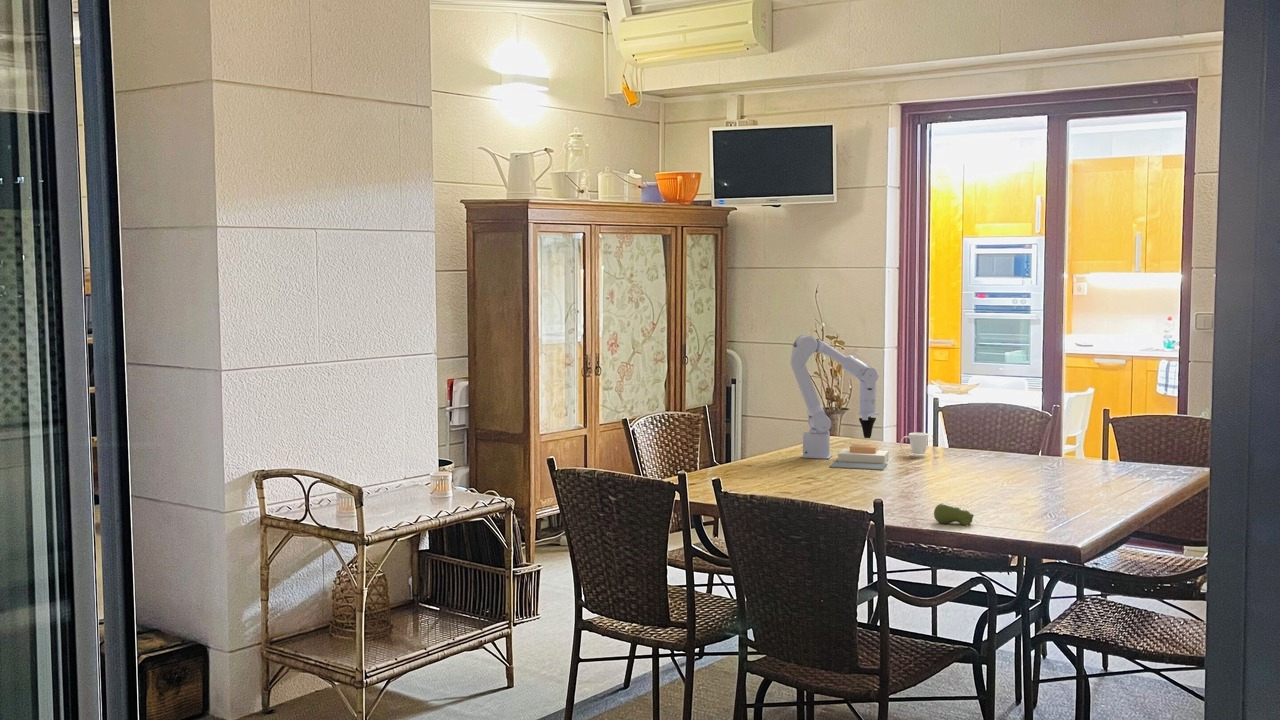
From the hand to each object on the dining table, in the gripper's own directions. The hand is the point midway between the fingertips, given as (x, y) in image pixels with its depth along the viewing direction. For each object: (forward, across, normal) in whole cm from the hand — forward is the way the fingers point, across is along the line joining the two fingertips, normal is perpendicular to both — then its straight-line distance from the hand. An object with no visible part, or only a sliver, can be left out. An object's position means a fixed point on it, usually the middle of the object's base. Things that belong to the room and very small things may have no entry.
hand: (867, 437), depth 419 cm
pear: (+7, -109, -36) cm, 115 cm away
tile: (+4, -9, 0) cm, 10 cm away
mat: (+7, -22, 0) cm, 23 cm away
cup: (+7, +7, -16) cm, 19 cm away
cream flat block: (+7, -10, 0) cm, 12 cm away
